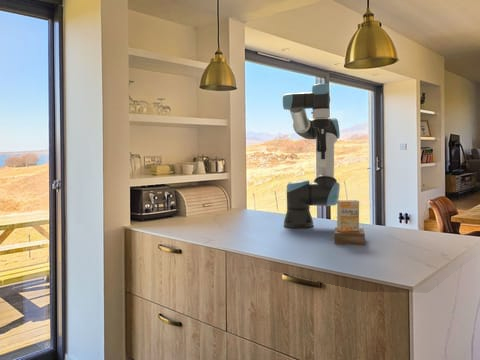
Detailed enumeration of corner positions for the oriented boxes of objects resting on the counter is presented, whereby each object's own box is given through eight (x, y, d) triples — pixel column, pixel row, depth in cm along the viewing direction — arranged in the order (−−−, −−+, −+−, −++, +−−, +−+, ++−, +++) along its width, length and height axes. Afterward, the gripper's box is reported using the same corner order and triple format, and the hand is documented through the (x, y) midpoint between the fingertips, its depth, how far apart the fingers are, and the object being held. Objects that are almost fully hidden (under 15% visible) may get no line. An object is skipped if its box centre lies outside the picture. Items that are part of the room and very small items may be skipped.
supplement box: (340, 232, 169) (339, 201, 168) (337, 230, 174) (336, 200, 173) (359, 231, 170) (359, 200, 168) (355, 229, 174) (355, 199, 173)
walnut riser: (335, 238, 180) (335, 227, 180) (363, 239, 177) (363, 228, 177) (334, 245, 168) (334, 233, 168) (364, 246, 165) (364, 234, 165)
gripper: (310, 121, 195) (311, 165, 196) (314, 117, 170) (315, 167, 171) (326, 120, 194) (327, 164, 195) (332, 116, 169) (333, 167, 171)
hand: (321, 166), depth 183 cm, fingers open, 13 cm apart
